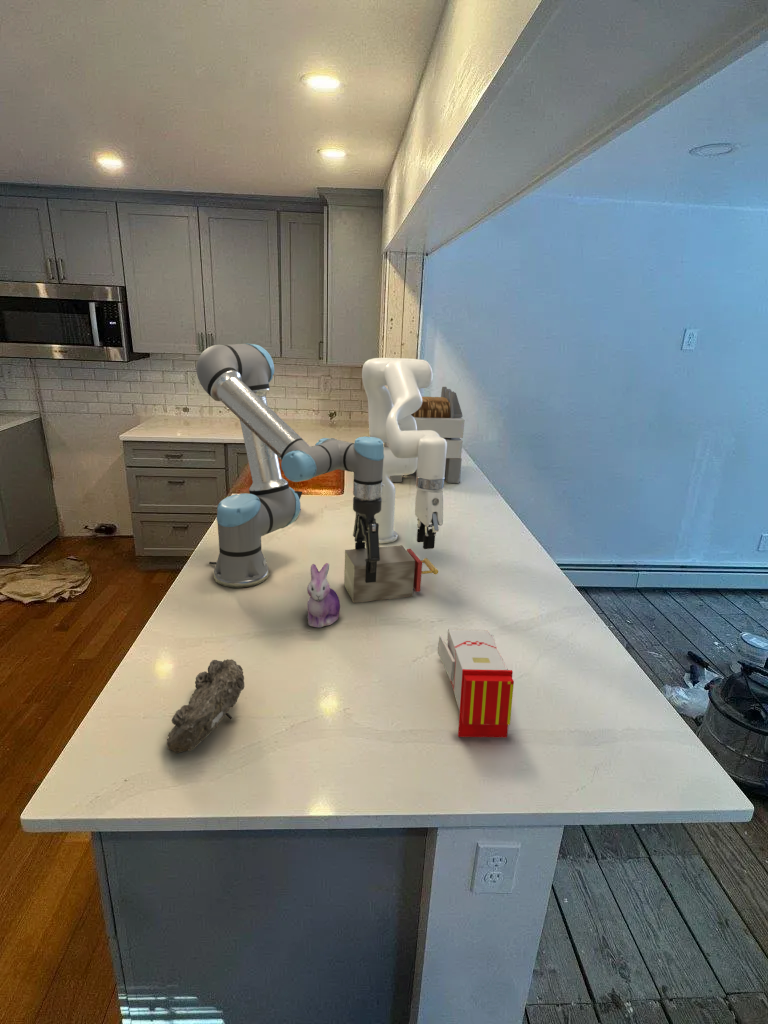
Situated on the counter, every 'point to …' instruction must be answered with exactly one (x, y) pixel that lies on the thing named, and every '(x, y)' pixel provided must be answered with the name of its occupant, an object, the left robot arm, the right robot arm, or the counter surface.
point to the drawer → (420, 569)
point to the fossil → (206, 705)
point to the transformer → (442, 429)
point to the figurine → (321, 599)
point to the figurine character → (299, 494)
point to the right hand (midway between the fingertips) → (425, 544)
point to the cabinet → (379, 574)
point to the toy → (478, 682)
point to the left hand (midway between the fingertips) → (364, 572)
